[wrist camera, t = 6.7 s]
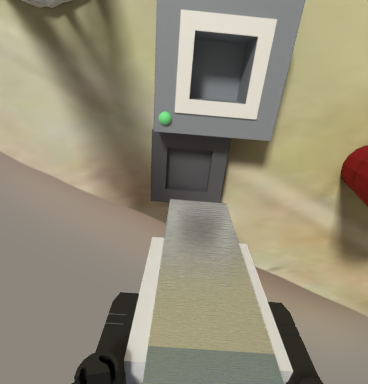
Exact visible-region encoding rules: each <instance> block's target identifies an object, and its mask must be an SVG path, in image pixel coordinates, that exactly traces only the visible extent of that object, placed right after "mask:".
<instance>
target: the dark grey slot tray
mask: <svg viewBox="0 0 368 384" xmlns="http://www.w3.org/2000/svg"><path fill="white" fill-rule="evenodd" d="M229 144H230V138H227V137H215V136H203V135H191V134H179V133H168V132H156V131H154V129H153V130H152V163H151V201H162V202H170V199H175V200H188V201H200V202H213V203H220V197H221V192H222V186H223V180H224V174H225V168H226V162H227V156H228V150H229Z"/></svg>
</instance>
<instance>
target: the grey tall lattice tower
mask: <svg viewBox="0 0 368 384" xmlns="http://www.w3.org/2000/svg"><path fill="white" fill-rule="evenodd" d="M20 1H23V2H25V3H28V4H31V5H33V6H36V7H38V8H41V7H45V6H47V7H50V8H54V7H56V6H58V5H60V4H62V3H64V2H69V1H74V0H20Z"/></svg>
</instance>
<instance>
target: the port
mask: <svg viewBox="0 0 368 384" xmlns="http://www.w3.org/2000/svg"><path fill="white" fill-rule="evenodd" d="M304 4H305V0H157V15H156V54H155V94H154V131H156V132H168V133H179V134H191V135H203V136H215V137H227V138H239V139H251V140H263V141H271V138H272V134H273V130H274V126H275V122H276V118H277V114H278V110H279V105H280V101H281V97H282V93H283V89H284V85H285V81H286V77H287V73H288V69H289V65H290V61H291V57H292V53H293V48H294V44H295V40H296V36H297V32H298V28H299V24H300V20H301V16H302V12H303V8H304Z"/></svg>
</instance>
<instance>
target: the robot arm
mask: <svg viewBox="0 0 368 384" xmlns="http://www.w3.org/2000/svg"><path fill="white" fill-rule="evenodd" d="M163 243H164V238H162V237H152V240H151V244H150V249H149V253H148V258H147V262H146V267H145V271H144V275H143V280H142V284H141V288H140V293H139V294H137V293H122V292H121V293H120V294H119V295H118V296H117V297H116V298H115V300H114V301H113V303H112V306H111V308H110V311H109V315H108V317H107V320H106V324H105V326H104V329H103V332H102V335H101V339H100V341H99V344H98V347H97V349H96V352H95V353H93V354H91V355H90V356H88V357H87V358H86V359H84V361H83V362H82V363H81V364H80V366H79V367H78V369H77V371H76V374H75V377H74V379H75V382H74V383H72V384H142V383H143V376H144V369H145V363H146V356H147V349H148V343H149V336H150V329H151V323H152V316H153V309H154V303H155V296H156V289H157V283H158V276H159V269H160V263H161V256H162V249H163ZM239 245H240V248H241V252H242V255H243V258H244V261H245V264H246V267H247V270H248V273H249V276H250V279H251V283H252V286H253V289H254V292H255V295H256V298H257V301H258V304H259V307H260V311H261V314H262V317H263V320H264V323H265V326H266V329H267V332H268V335H269V338H270V342H271V345H272V348H273V351H274V354H275V357H276V360H277V363H278V366H279V370H280V373H281V376H282V379H283V382H284V384H323V383H322V381H321V380H320V378H319V376H318V374H317V372H316V370H315V368H314V366H313V364H312V361H311V359H310V357H309V355H308V352H307V350H306V348H305V345H304V343H303V341H302V339H301V337H300V336H299V332H298V330H297V328H296V327H295V323H294V321H293V319H292V316H291V314H290V312H289V311H288V310H287V309H286V308H285V307H284V305H283V304H282V303H274V302H268V301H267V299H266V296H265V293H264V290H263V288H262V285H261V282H260V279H259V277H258V274H257V271H256V269H255V266H254V263H253V260H252V258H251V255H250V252H249V249H248V247H247V244H241V243H239Z"/></svg>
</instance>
